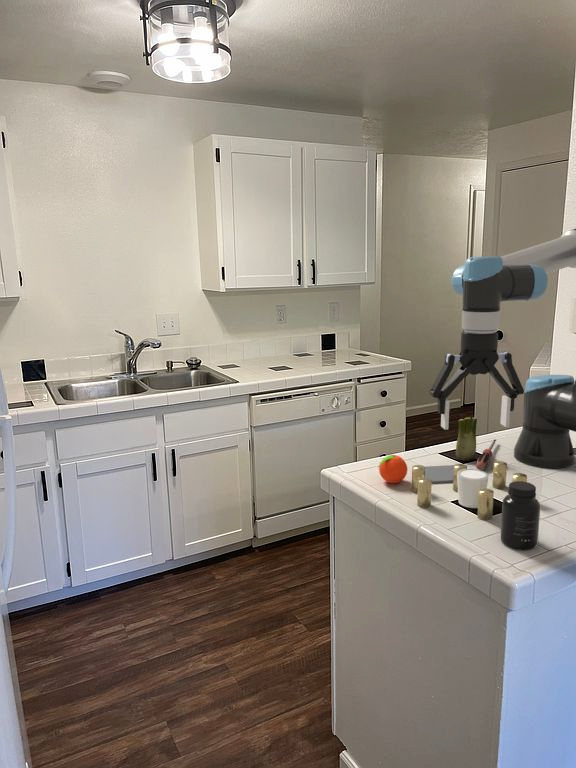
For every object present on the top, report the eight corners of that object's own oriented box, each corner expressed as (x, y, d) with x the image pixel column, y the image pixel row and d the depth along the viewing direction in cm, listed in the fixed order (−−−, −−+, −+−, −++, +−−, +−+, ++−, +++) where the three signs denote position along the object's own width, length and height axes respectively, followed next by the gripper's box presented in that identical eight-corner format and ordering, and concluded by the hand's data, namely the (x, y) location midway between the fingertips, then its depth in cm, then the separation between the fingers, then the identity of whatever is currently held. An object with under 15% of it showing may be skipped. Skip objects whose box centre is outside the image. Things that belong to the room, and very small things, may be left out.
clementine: (386, 490, 139) (387, 462, 138) (369, 481, 145) (370, 454, 144) (412, 484, 143) (413, 456, 141) (395, 475, 149) (395, 448, 147)
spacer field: (506, 483, 142) (507, 460, 140) (544, 517, 124) (546, 490, 122) (406, 489, 140) (406, 465, 139) (430, 523, 122) (430, 497, 121)
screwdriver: (489, 443, 171) (490, 434, 171) (500, 445, 170) (500, 435, 169) (473, 471, 150) (474, 460, 149) (485, 473, 149) (486, 462, 148)
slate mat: (456, 467, 153) (456, 464, 153) (470, 481, 143) (470, 479, 143) (415, 469, 152) (415, 467, 152) (427, 483, 143) (427, 481, 143)
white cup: (489, 510, 128) (490, 480, 126) (456, 508, 129) (458, 478, 127) (485, 497, 134) (486, 469, 133) (454, 495, 135) (455, 467, 134)
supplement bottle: (495, 534, 117) (498, 478, 114) (529, 534, 116) (533, 478, 114) (506, 551, 110) (510, 492, 107) (543, 551, 110) (547, 492, 107)
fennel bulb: (474, 456, 160) (476, 415, 158) (478, 463, 156) (480, 420, 153) (453, 456, 161) (454, 415, 158) (456, 463, 156) (458, 420, 154)
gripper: (528, 327, 127) (521, 419, 132) (417, 330, 126) (414, 424, 130) (545, 331, 120) (537, 429, 125) (427, 334, 118) (424, 434, 123)
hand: (474, 426), depth 127 cm, fingers open, 13 cm apart
